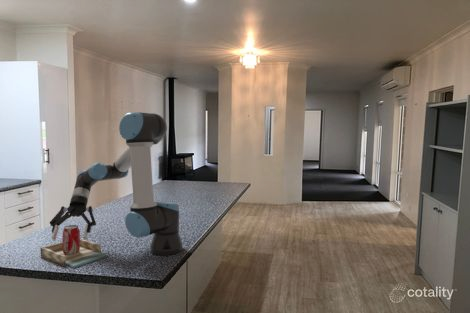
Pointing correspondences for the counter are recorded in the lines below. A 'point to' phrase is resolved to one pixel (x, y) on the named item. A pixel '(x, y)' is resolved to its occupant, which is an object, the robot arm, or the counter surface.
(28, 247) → the counter surface
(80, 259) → the truck bed
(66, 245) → the soda can
